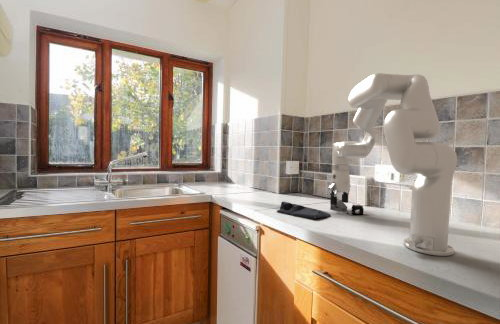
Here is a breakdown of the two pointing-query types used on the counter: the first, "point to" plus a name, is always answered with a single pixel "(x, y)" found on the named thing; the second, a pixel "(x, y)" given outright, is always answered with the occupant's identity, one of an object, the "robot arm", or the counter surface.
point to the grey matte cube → (339, 206)
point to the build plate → (357, 207)
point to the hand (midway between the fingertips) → (339, 203)
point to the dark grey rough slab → (301, 211)
